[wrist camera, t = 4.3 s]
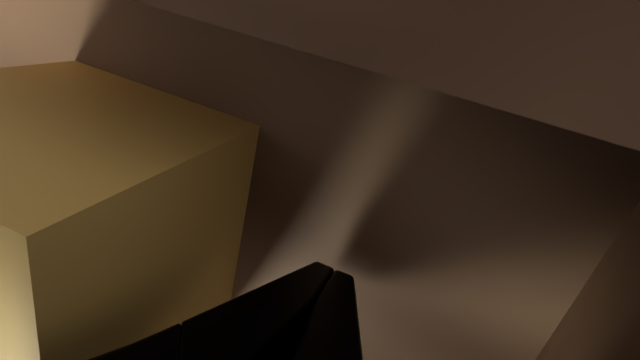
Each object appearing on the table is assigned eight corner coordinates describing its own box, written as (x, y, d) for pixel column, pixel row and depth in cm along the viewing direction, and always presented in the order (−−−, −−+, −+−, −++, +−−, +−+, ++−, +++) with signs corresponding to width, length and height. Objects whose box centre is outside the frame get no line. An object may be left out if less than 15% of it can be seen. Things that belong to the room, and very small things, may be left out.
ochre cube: (230, 302, 11) (56, 500, 6) (82, 232, 12) (-153, 357, 7) (259, 125, 8) (25, 237, 4) (75, 60, 10) (-263, 93, 5)
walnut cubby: (483, 485, 11) (485, 758, 7) (50, 265, 15) (-117, 360, 11) (790, 56, 6) (1449, 131, 2) (16, -122, 10) (-329, -228, 6)
